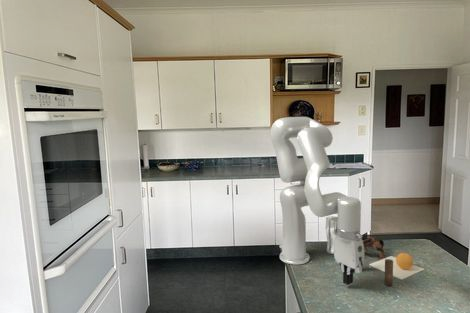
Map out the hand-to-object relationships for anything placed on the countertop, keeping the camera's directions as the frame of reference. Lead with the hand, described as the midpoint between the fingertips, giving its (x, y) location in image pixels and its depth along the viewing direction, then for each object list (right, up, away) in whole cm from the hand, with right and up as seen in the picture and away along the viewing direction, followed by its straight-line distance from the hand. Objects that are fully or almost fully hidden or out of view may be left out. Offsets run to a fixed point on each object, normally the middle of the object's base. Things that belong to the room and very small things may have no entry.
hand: (347, 282), depth 113 cm
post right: (+15, -1, +1) cm, 15 cm away
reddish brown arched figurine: (+20, +2, +25) cm, 33 cm away
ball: (+26, +4, +12) cm, 29 cm away
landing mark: (+24, +1, +13) cm, 27 cm away
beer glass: (+4, +2, +30) cm, 30 cm away
